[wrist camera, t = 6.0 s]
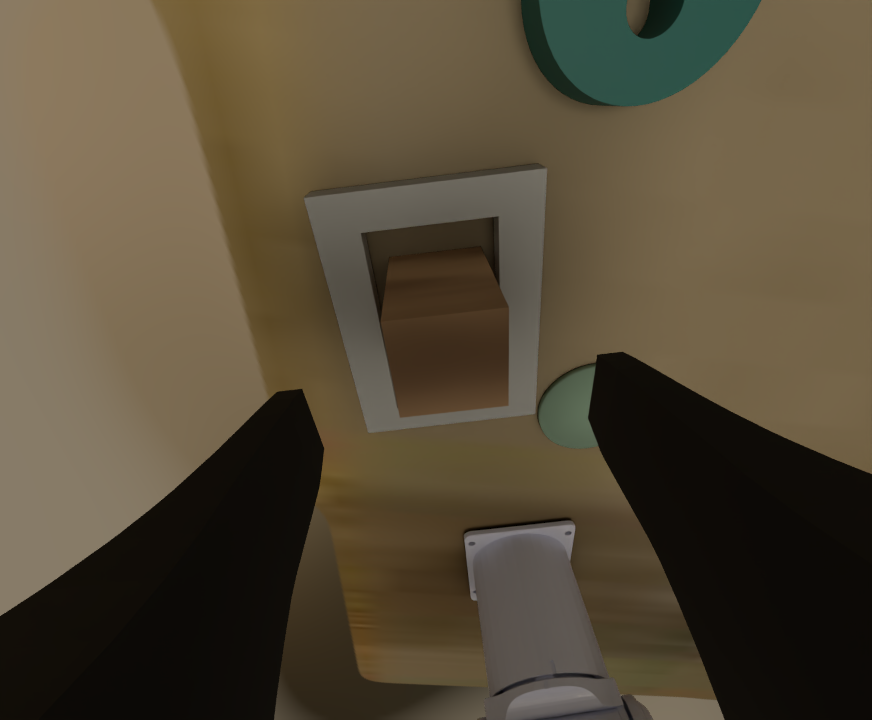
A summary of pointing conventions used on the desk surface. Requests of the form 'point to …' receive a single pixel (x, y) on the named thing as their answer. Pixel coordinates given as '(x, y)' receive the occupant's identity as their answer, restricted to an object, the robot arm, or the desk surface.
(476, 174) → the slot board
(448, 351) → the walnut block
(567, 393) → the green pad
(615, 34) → the bracket
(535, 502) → the desk surface
